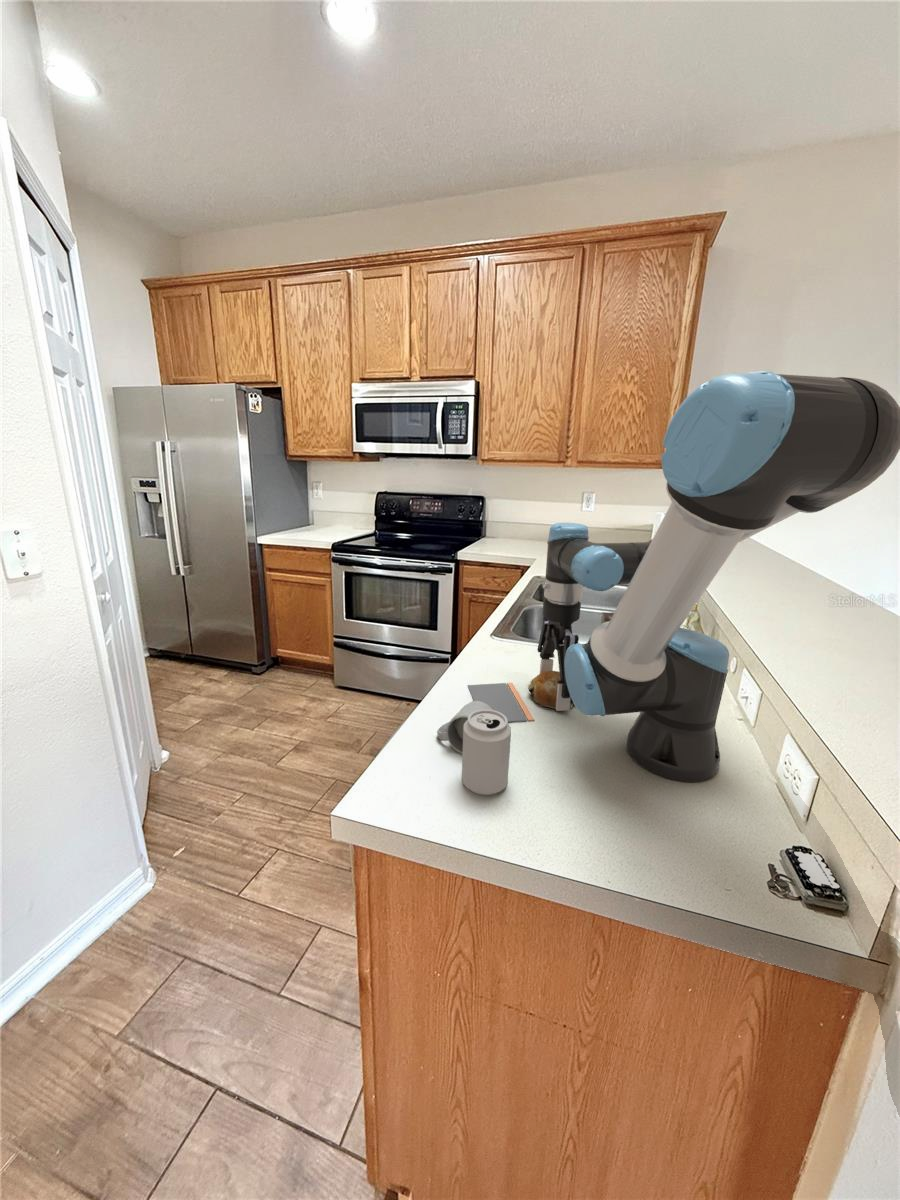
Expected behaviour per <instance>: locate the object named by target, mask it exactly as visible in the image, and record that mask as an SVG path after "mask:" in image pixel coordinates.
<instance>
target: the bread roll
mask: <svg viewBox="0 0 900 1200" xmlns="http://www.w3.org/2000/svg"><path fill="white" fill-rule="evenodd" d="M557 681H560V672H559V670H558V671H557V670H553V671H548V672H543V673H541V674H540V673H539V674H538V675H537V676H535V677H534V678H533V679H531V681H530V683H529V684H528V685H527V689H528V692H529V693H530V697H531V698H532V700H533V701H534V702H535V703H537V704H538V705H539V706H541V707H543V708H544V707H546V708H550V709H554V710H556V698H557V688H558V683H557ZM573 706H574V703H573V701H572V699H571V698H570V708H569V709H571V708H572V707H573Z"/></svg>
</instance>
